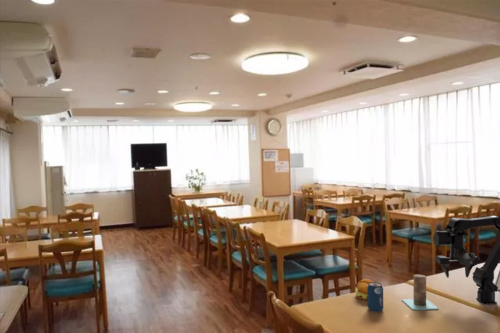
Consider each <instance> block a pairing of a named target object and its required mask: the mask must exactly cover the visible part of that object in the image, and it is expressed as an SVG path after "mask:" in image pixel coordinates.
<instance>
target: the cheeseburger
mask: <svg viewBox="0 0 500 333" xmlns="http://www.w3.org/2000/svg"><path fill="white" fill-rule="evenodd" d="M357 282H358V283H357V284H356V288H355V297H357V299H360V300H364V301H365V300H366V301H368V296H367V287H368V285H369V283H370V282H373V281H372V280H370V279H367V278H365V279H362V280H359V281H357Z"/></svg>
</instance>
